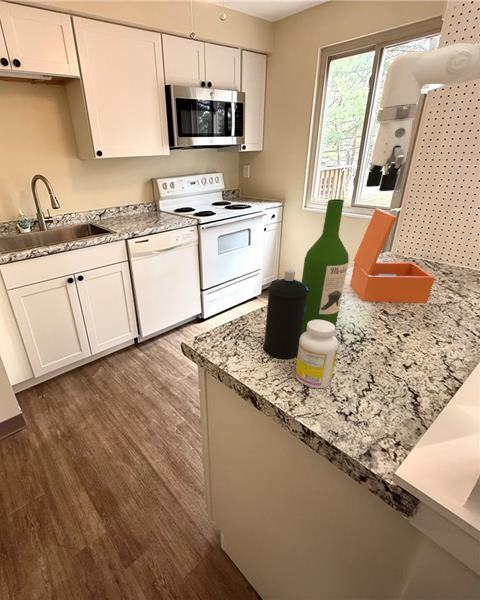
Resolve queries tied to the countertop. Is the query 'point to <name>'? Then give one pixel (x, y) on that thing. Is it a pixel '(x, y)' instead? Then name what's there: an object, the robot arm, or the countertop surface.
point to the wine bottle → (325, 270)
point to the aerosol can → (285, 316)
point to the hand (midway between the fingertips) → (379, 188)
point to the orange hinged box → (393, 283)
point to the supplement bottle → (317, 354)
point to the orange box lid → (374, 240)
